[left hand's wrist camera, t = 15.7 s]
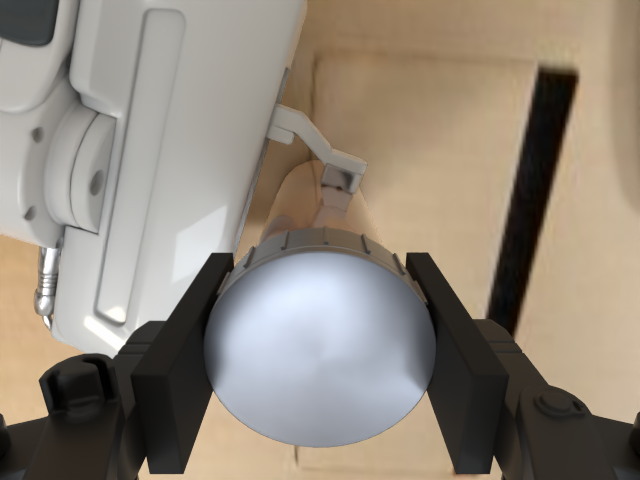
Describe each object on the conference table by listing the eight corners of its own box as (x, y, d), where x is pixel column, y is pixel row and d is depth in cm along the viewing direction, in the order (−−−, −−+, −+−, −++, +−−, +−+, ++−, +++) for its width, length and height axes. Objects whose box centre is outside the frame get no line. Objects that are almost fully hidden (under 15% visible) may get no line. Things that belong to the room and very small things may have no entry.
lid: (437, 229, 11) (458, 254, 10) (408, 408, 14) (421, 454, 12) (212, 218, 11) (193, 241, 9) (220, 400, 13) (206, 446, 12)
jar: (333, 254, 27) (350, 444, 13) (263, 215, 26) (192, 373, 12) (377, 186, 25) (455, 316, 11) (304, 142, 25) (281, 219, 10)
